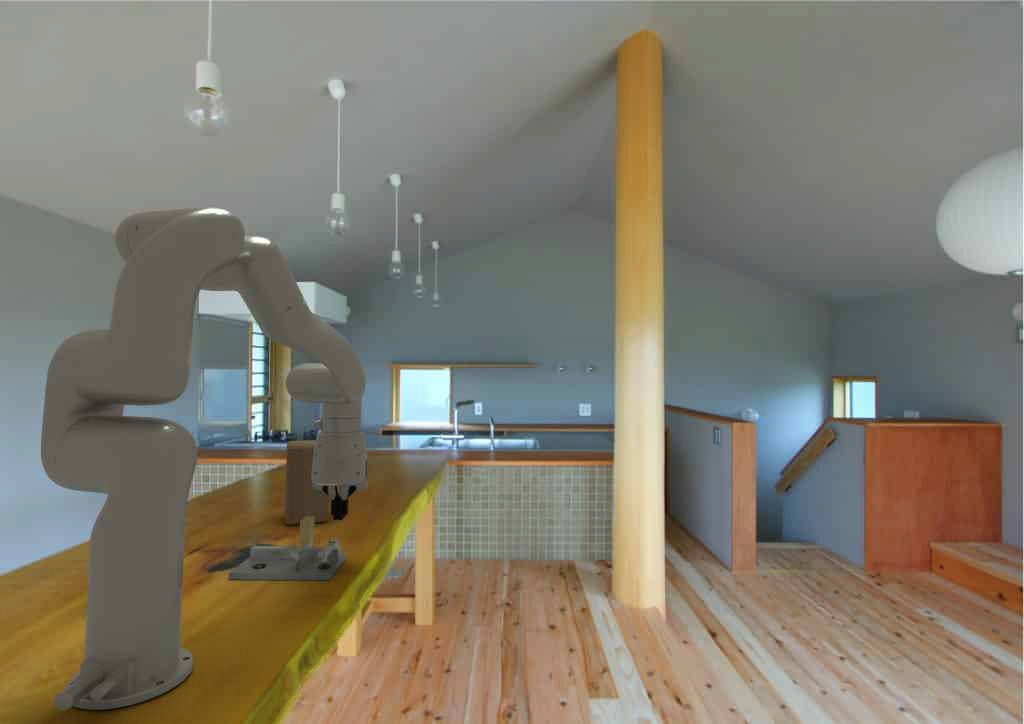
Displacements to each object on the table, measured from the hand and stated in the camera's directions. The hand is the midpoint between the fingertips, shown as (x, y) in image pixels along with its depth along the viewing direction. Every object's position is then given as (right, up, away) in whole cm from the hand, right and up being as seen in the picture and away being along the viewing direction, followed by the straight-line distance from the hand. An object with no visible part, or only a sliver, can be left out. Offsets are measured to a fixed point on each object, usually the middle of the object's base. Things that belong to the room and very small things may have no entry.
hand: (339, 518), depth 108 cm
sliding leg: (-6, -7, -3) cm, 10 cm away
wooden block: (-19, -10, +32) cm, 38 cm away
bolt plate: (-8, -9, -4) cm, 12 cm away
